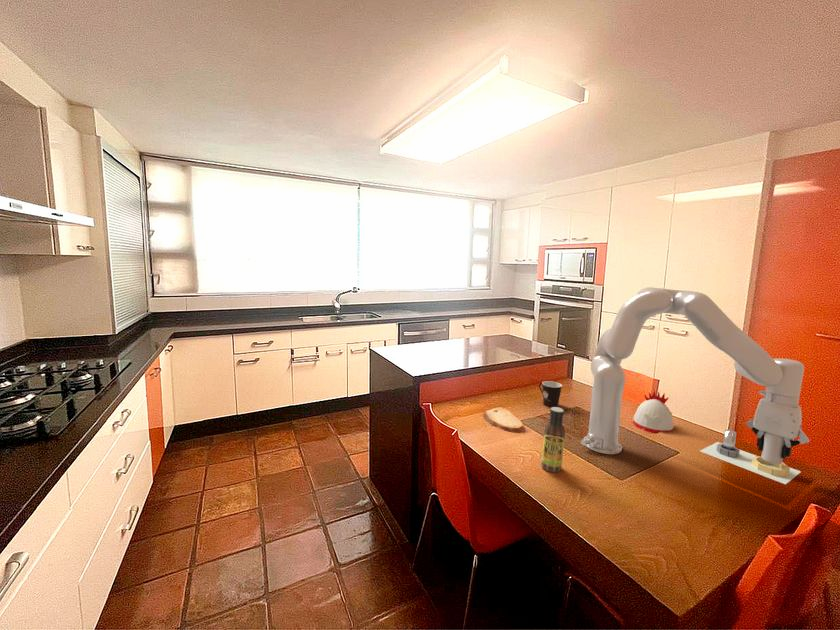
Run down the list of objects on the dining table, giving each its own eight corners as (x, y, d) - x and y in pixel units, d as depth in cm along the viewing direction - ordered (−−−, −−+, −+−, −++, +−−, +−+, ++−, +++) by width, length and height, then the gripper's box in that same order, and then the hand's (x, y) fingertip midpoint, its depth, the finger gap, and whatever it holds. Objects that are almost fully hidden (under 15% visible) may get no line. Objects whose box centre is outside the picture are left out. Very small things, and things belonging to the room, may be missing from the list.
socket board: (784, 488, 107) (786, 478, 107) (698, 454, 126) (700, 445, 126) (800, 475, 114) (802, 465, 114) (717, 444, 133) (718, 436, 133)
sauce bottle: (540, 470, 114) (544, 410, 111) (541, 460, 120) (545, 403, 117) (562, 475, 112) (567, 414, 109) (562, 465, 118) (566, 406, 115)
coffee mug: (563, 408, 165) (564, 387, 163) (544, 408, 165) (545, 387, 163) (554, 399, 176) (555, 379, 175) (536, 398, 176) (537, 379, 175)
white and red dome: (672, 437, 138) (676, 400, 136) (630, 427, 146) (634, 392, 144) (673, 425, 149) (678, 390, 147) (635, 416, 157) (638, 383, 155)
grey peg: (731, 456, 123) (734, 434, 122) (720, 452, 125) (723, 430, 124) (734, 454, 124) (738, 432, 123) (724, 450, 127) (727, 428, 126)
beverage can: (784, 467, 112) (790, 430, 110) (763, 462, 114) (768, 426, 113) (779, 460, 116) (785, 424, 114) (759, 455, 118) (764, 421, 117)
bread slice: (524, 435, 139) (524, 425, 138) (478, 427, 145) (478, 418, 145) (527, 417, 156) (528, 408, 155) (485, 410, 162) (486, 402, 161)
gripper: (741, 392, 117) (734, 444, 120) (816, 410, 103) (806, 469, 105) (750, 388, 121) (743, 439, 124) (824, 405, 107) (814, 463, 109)
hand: (772, 452), depth 115 cm, fingers closed on beverage can, 4 cm apart
